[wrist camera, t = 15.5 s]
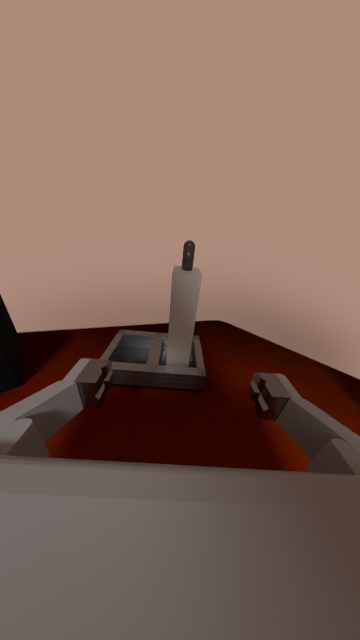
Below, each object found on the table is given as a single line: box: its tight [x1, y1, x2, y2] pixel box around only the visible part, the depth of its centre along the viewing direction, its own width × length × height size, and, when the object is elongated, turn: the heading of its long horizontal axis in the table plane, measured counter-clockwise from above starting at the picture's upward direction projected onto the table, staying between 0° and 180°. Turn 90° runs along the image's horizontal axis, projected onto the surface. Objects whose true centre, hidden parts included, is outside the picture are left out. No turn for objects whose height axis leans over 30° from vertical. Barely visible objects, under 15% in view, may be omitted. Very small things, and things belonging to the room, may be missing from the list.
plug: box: [166, 241, 202, 367], centre depth 21 cm, size 4×3×17 cm, turn 179°
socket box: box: [100, 330, 206, 392], centre depth 24 cm, size 9×14×3 cm, turn 90°
